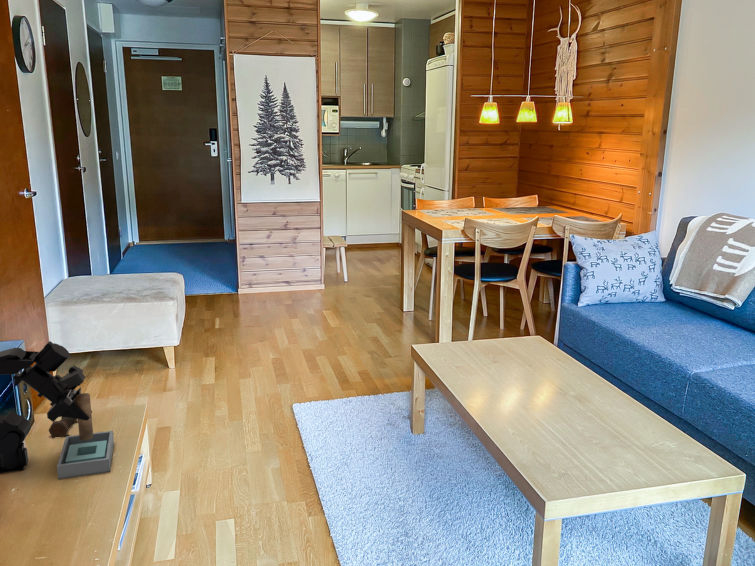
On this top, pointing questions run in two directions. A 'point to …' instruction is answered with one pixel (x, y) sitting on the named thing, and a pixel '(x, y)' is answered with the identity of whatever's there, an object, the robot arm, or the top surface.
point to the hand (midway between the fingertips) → (89, 416)
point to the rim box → (86, 455)
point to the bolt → (61, 427)
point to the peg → (85, 425)
